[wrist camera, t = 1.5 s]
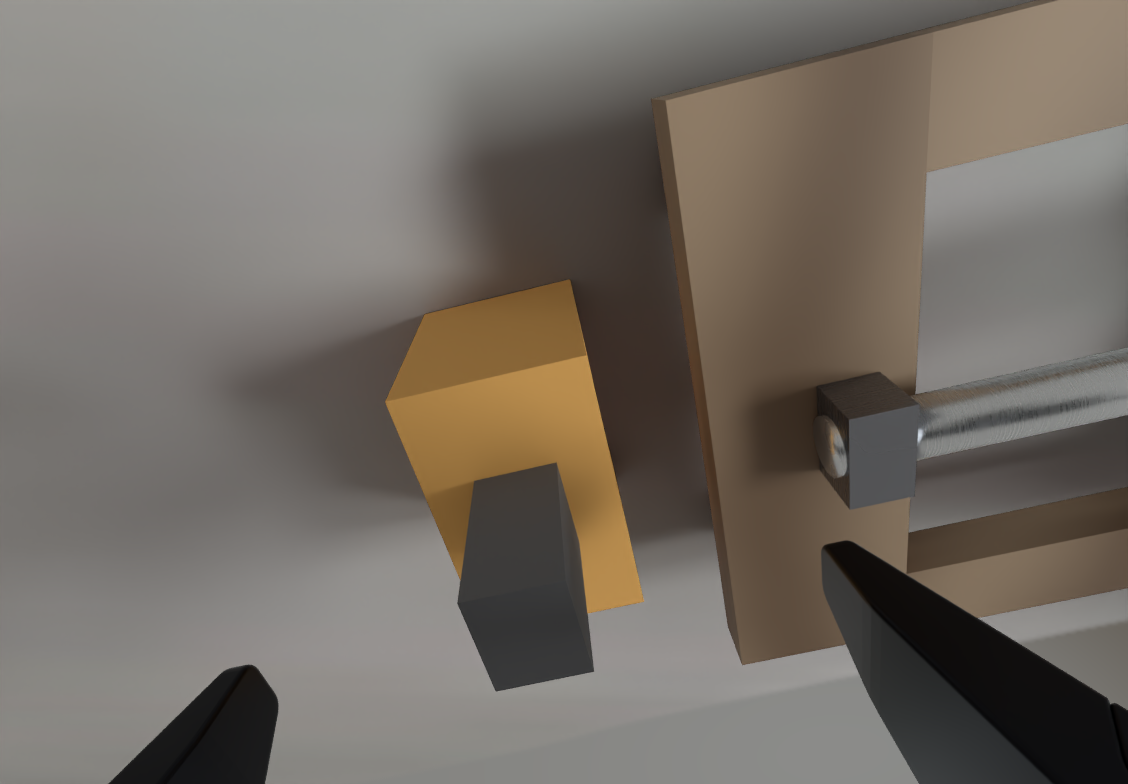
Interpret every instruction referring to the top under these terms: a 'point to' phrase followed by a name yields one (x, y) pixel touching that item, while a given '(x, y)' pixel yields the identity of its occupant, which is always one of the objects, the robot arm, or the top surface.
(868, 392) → the silver metal rod
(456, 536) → the yellow block
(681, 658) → the top surface
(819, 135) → the wooden frame with rod
